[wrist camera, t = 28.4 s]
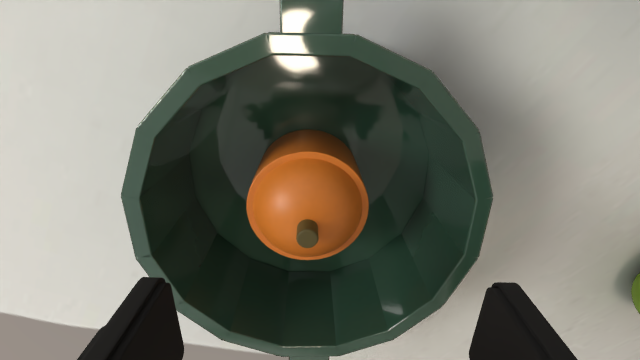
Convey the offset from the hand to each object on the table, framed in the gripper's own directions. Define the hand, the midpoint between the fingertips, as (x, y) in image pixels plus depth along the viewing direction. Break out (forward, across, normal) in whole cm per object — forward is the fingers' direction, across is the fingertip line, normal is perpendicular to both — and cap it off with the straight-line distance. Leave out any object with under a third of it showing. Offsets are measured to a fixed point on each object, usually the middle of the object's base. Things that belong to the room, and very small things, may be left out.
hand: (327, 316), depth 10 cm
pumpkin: (+12, +1, +1) cm, 12 cm away
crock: (+13, +1, +1) cm, 13 cm away
